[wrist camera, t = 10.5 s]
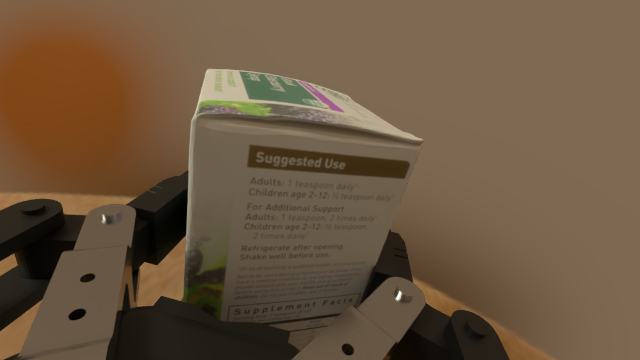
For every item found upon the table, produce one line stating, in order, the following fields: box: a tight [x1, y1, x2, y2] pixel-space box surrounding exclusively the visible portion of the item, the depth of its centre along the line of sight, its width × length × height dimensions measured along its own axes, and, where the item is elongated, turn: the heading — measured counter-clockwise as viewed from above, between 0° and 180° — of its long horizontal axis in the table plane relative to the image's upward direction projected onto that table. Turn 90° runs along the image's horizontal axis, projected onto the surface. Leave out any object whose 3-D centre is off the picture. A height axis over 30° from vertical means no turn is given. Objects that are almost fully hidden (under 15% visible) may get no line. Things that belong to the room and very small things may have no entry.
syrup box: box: [183, 69, 424, 351], centre depth 12 cm, size 6×6×14 cm
